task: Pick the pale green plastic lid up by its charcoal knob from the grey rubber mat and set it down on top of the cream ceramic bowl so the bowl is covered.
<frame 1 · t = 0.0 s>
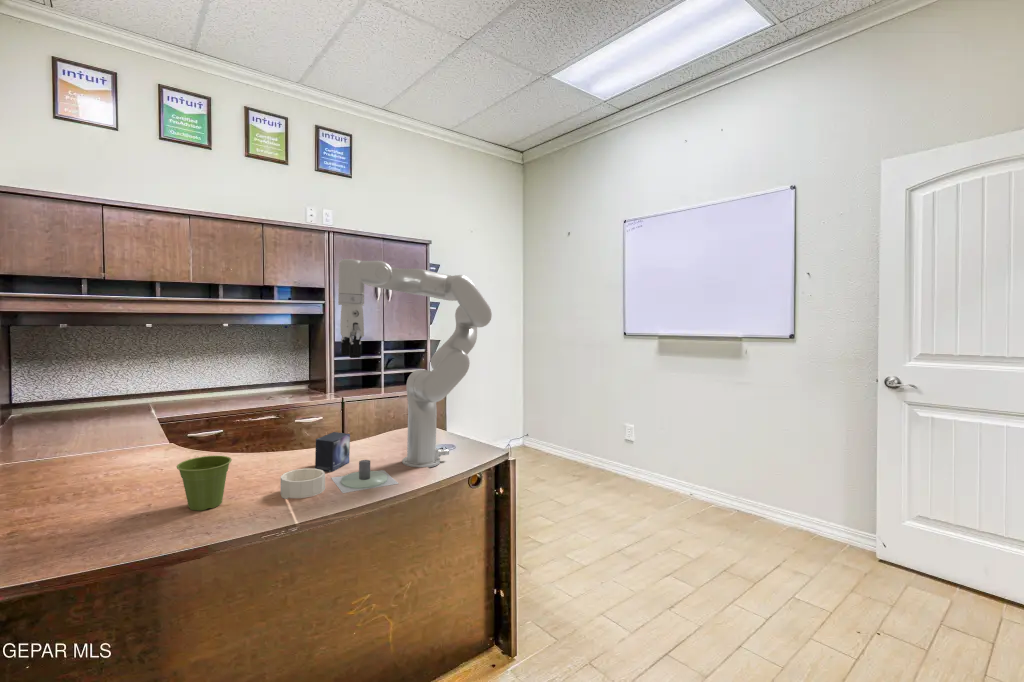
hand: (350, 356, 150), 37 cm above the table, tool pointing down, fingers open, 9 cm apart
small box: (332, 468, 157), on the table
mat: (364, 482, 144), on the table
lid: (364, 480, 144), point 1 cm above the table, touching mat
plant pot: (205, 506, 124), on the table
bowl: (303, 492, 135), on the table
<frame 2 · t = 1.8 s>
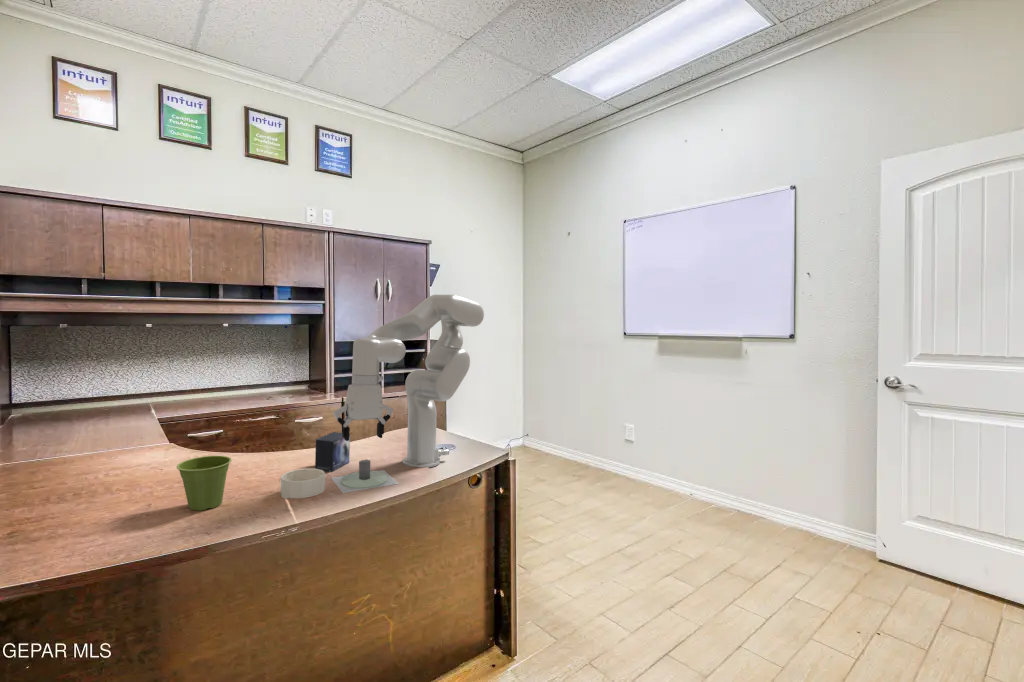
hand: (363, 438, 143), 13 cm above the table, tool pointing down, fingers open, 9 cm apart
nothing on the table moved.
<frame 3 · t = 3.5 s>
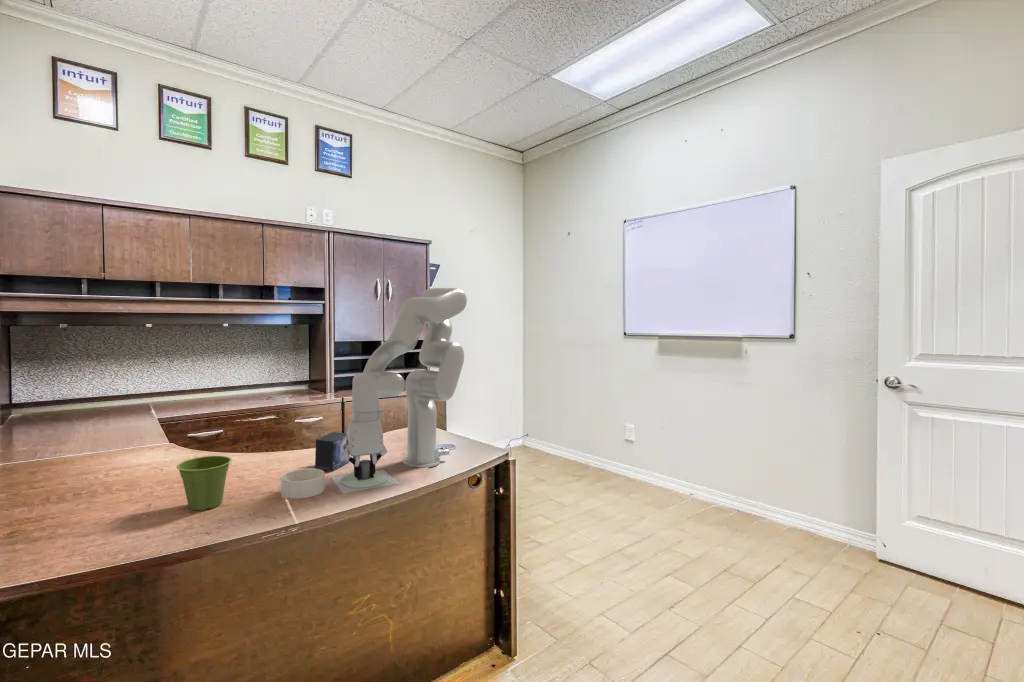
hand: (364, 476, 144), 2 cm above the table, tool pointing down, fingers closed on lid, 3 cm apart
lid: (364, 480, 144), point 1 cm above the table, touching gripper, mat
everything else where it was.
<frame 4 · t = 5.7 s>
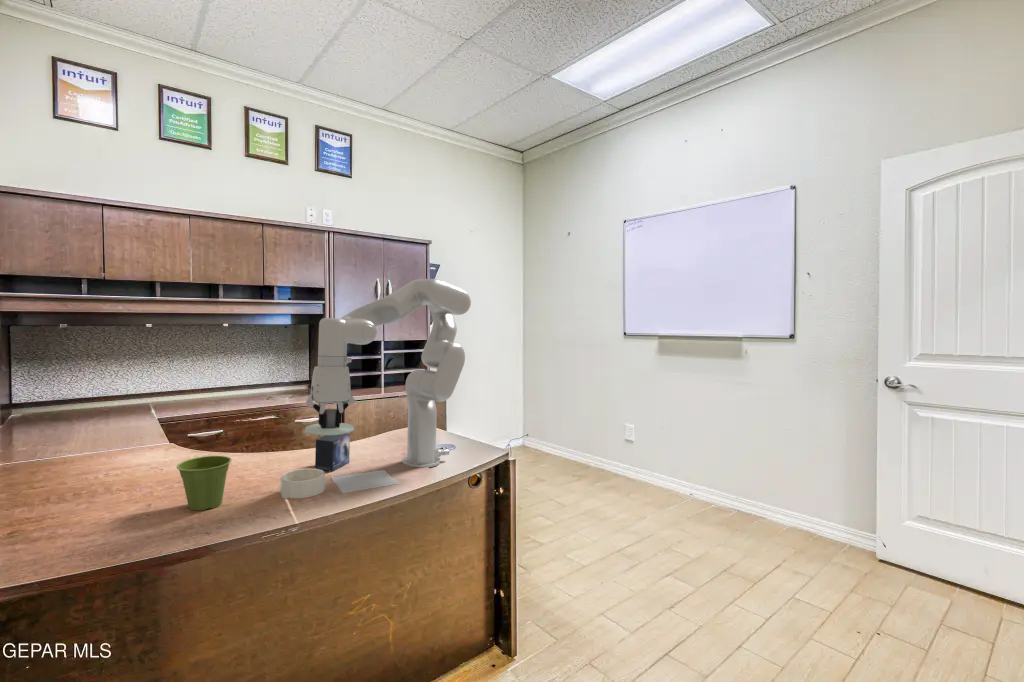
hand: (329, 426, 138), 18 cm above the table, tool pointing down, fingers closed on lid, 3 cm apart
lid: (329, 430, 138), point 17 cm above the table, touching gripper
everything else where it was.
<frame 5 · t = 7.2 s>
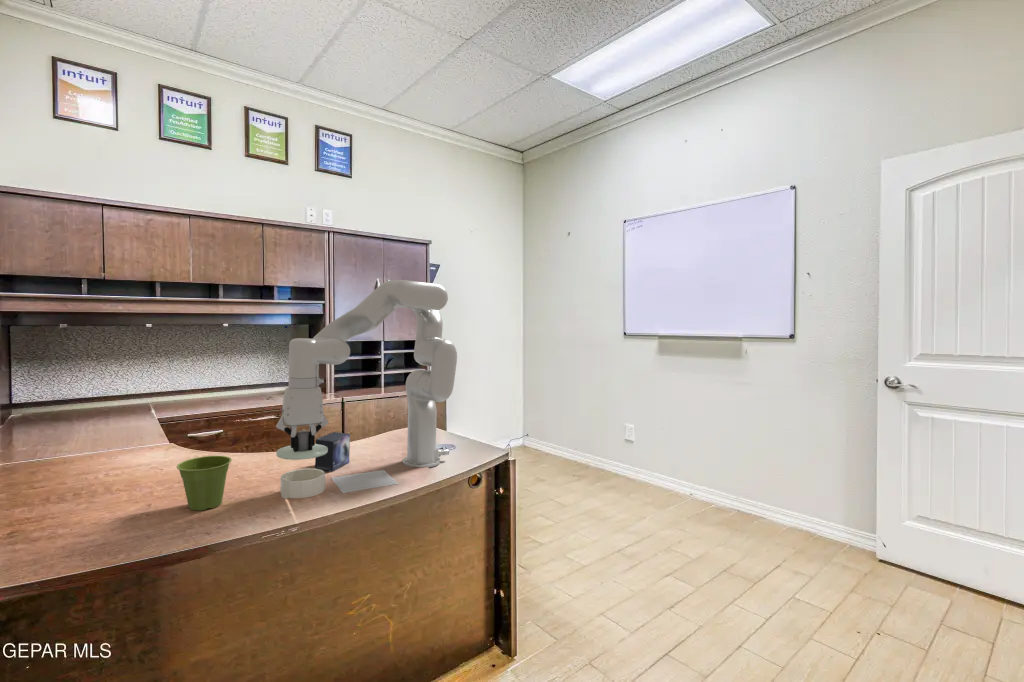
hand: (302, 448, 134), 12 cm above the table, tool pointing down, fingers closed on lid, 3 cm apart
lid: (302, 452, 134), point 11 cm above the table, touching gripper
everything else where it was.
when the fingers open (8 cm above the table, at t = 8.2 s): lid drops 2 cm, resting on bowl.
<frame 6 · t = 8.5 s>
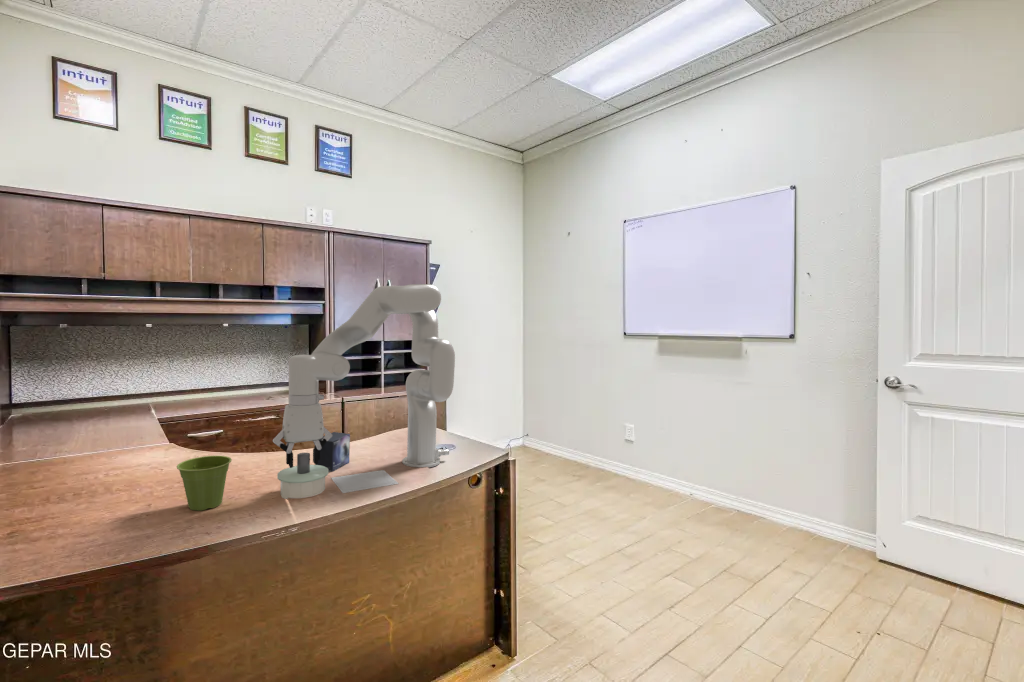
hand: (303, 464, 135), 8 cm above the table, tool pointing down, fingers open, 5 cm apart
lid: (303, 474, 135), point 5 cm above the table, touching bowl
everything else where it was.
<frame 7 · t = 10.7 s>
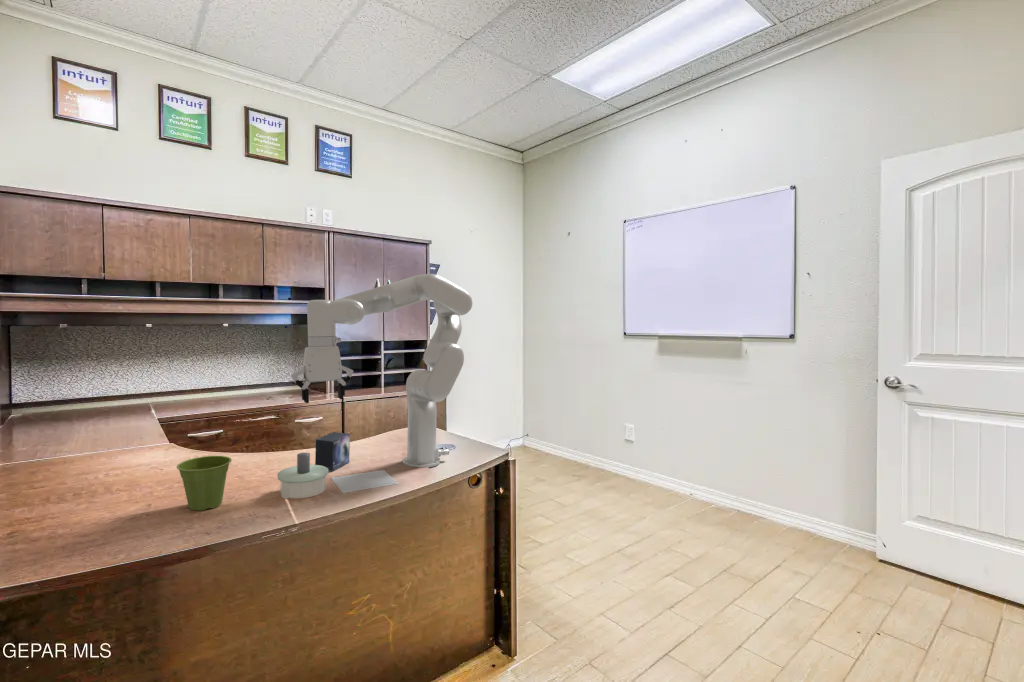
hand: (323, 400, 143), 24 cm above the table, tool pointing down, fingers open, 9 cm apart
nothing on the table moved.
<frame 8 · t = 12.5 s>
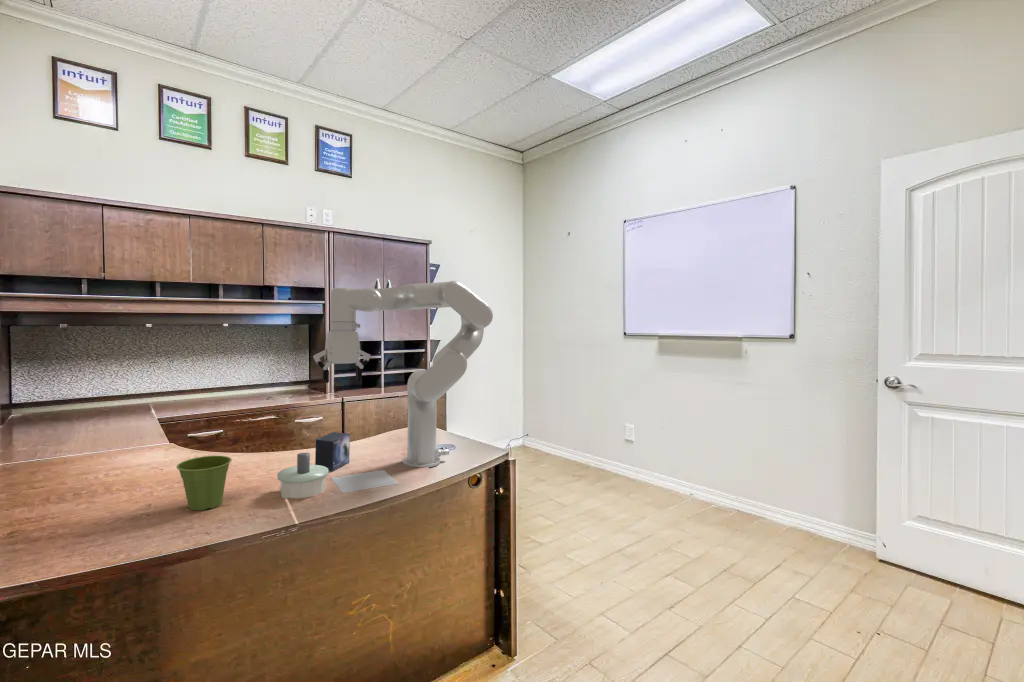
hand: (342, 381, 154), 28 cm above the table, tool pointing down, fingers open, 9 cm apart
nothing on the table moved.
at the end: lid 0.1 cm from the bowl (horizontally); lid point 5.0 cm above the table; lid tilted 0° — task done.
